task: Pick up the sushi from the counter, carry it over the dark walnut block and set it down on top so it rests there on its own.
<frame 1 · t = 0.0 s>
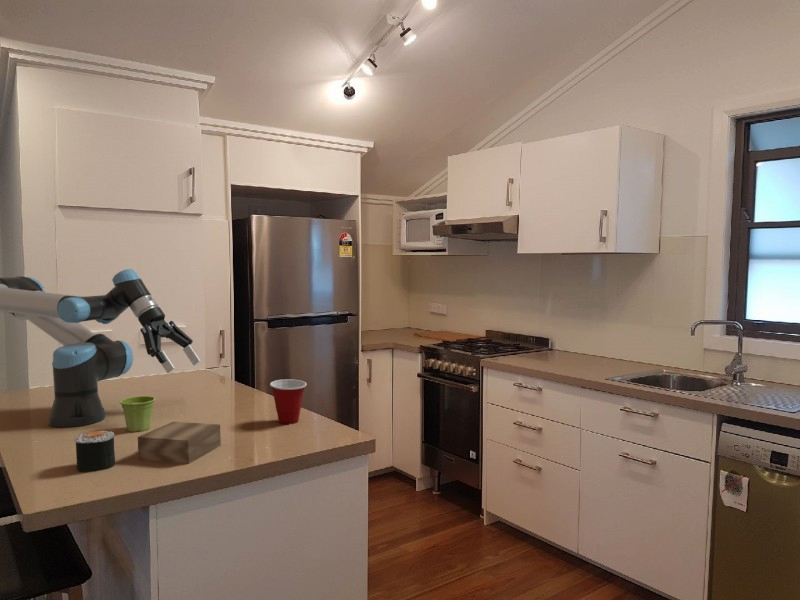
hand: (184, 366, 183), 15 cm above the worktop, tool tilted 35°, fingers open, 13 cm apart
walnut block: (181, 453, 146), on the worktop
plastic cup: (289, 422, 174), on the worktop
sushi: (96, 467, 137), on the worktop
plant pot: (139, 429, 168), on the worktop
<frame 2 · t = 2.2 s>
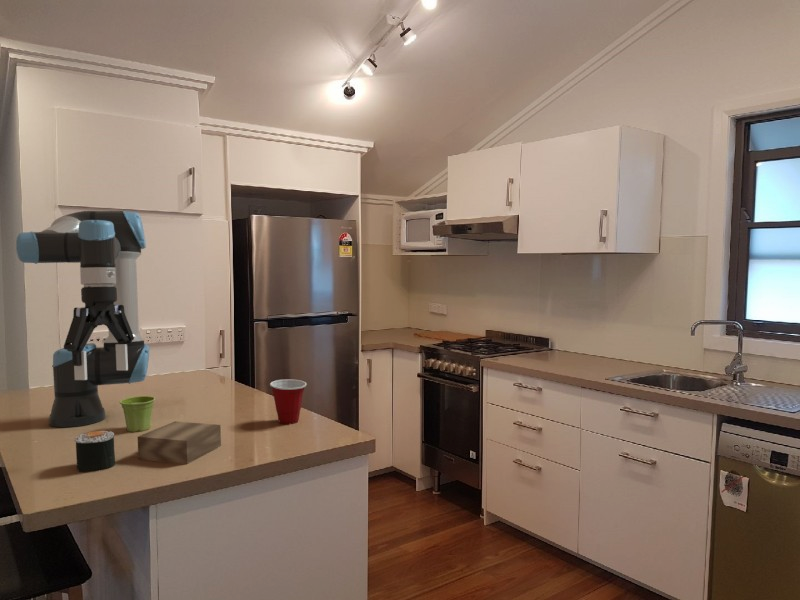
hand: (102, 374, 138), 21 cm above the worktop, tool pointing down, fingers open, 13 cm apart
nothing on the worktop moved.
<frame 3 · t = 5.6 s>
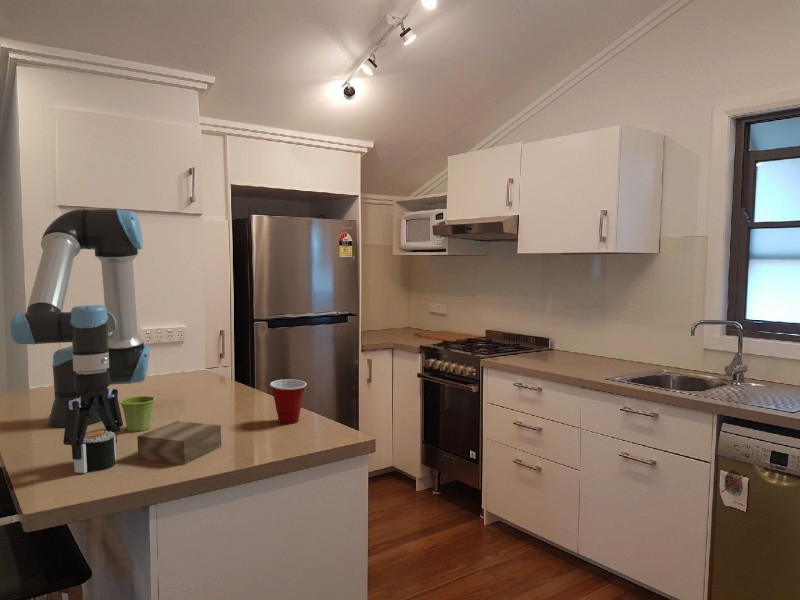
hand: (96, 465, 137), 0 cm above the worktop, tool pointing down, fingers open, 9 cm apart
sushi: (96, 466, 137), on the worktop, touching gripper
everything else where it was.
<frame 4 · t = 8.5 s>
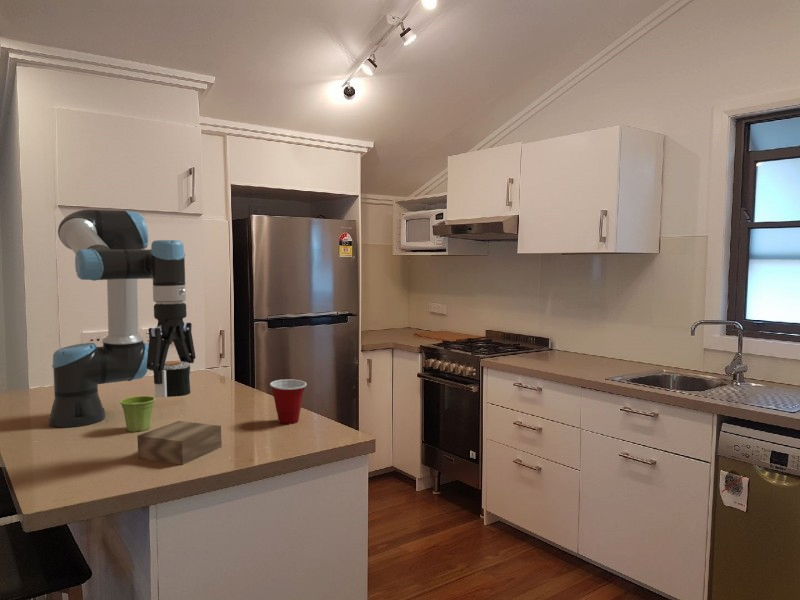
hand: (173, 392, 145), 16 cm above the worktop, tool pointing down, fingers closed on sushi, 9 cm apart
sushi: (173, 394, 145), point 15 cm above the worktop, touching gripper
everything else where it was.
when the fingers open (7 cm above the worktop, at t = 11.0 s): sushi drops 2 cm, resting on walnut block.
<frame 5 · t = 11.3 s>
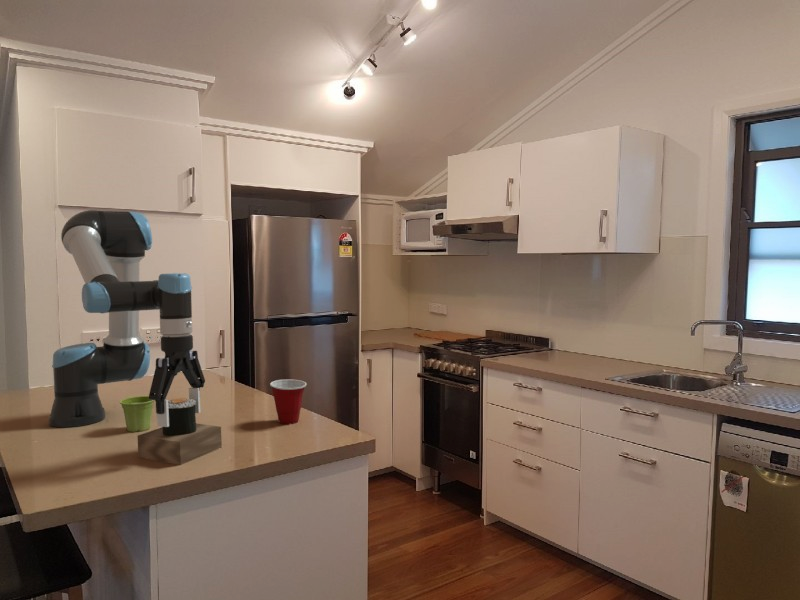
hand: (179, 419, 146), 9 cm above the worktop, tool pointing down, fingers open, 12 cm apart
walnut block: (181, 454, 147), on the worktop, touching sushi
sushi: (179, 431, 146), point 5 cm above the worktop, touching walnut block
everything else where it was.
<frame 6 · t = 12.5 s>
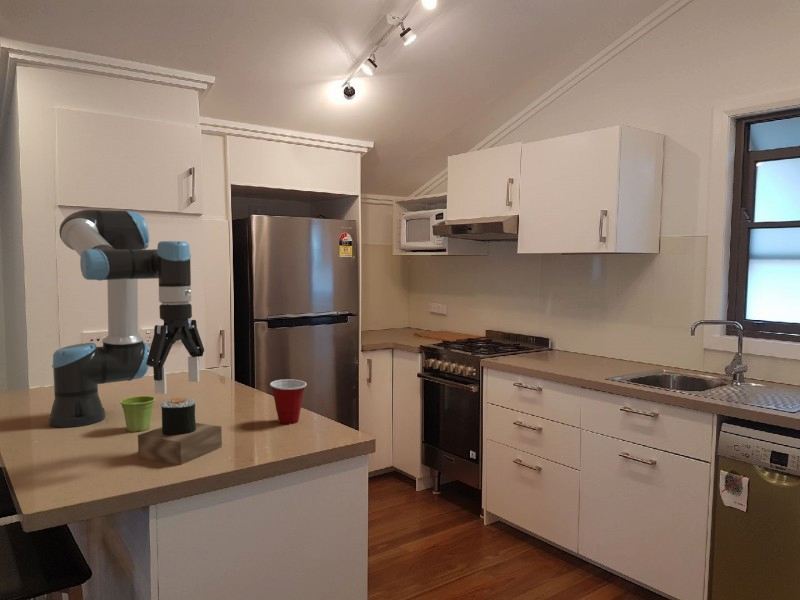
hand: (178, 387, 146), 17 cm above the worktop, tool pointing down, fingers open, 13 cm apart
walnut block: (181, 453, 147), on the worktop
sushi: (178, 431, 146), point 5 cm above the worktop
everything else where it was.
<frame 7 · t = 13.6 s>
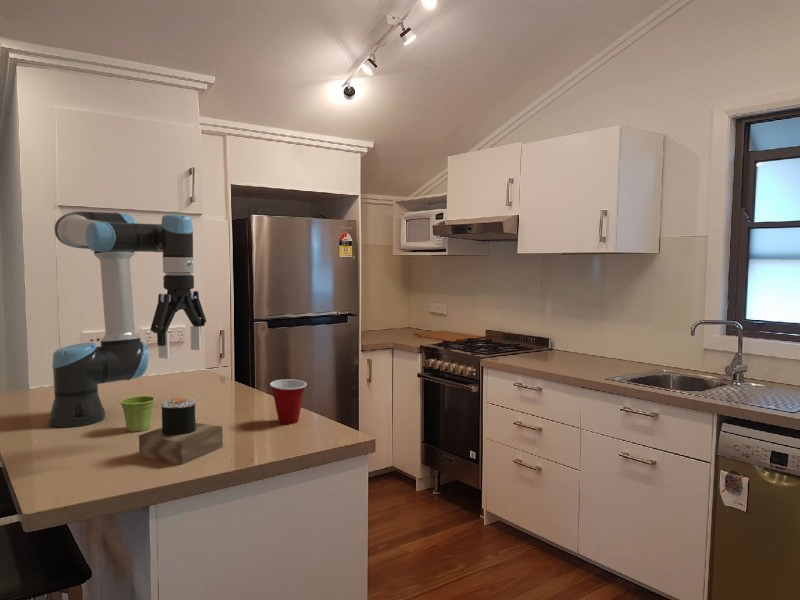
hand: (180, 354, 154), 24 cm above the worktop, tool pointing down, fingers open, 13 cm apart
walnut block: (182, 454, 147), on the worktop, touching sushi
sushi: (178, 431, 146), point 5 cm above the worktop, touching walnut block
everything else where it was.
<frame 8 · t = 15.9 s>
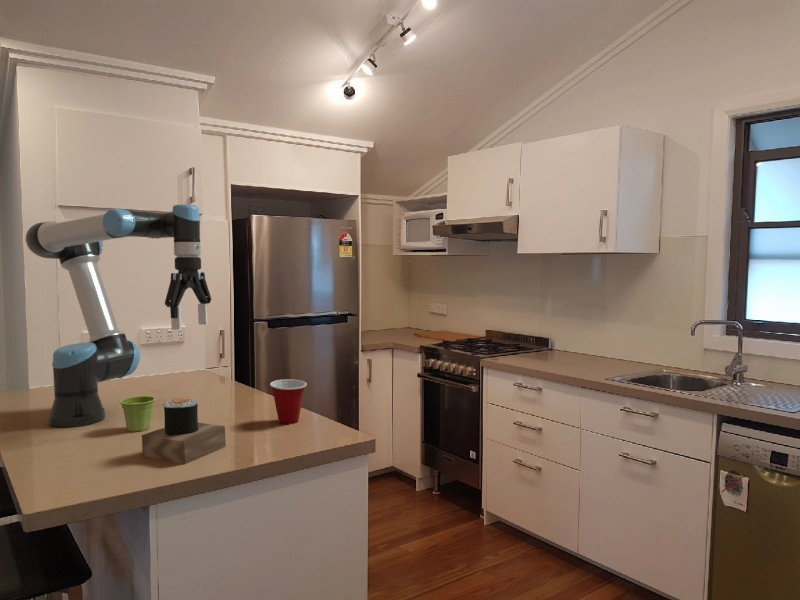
hand: (190, 326, 175), 29 cm above the worktop, tool pointing down, fingers open, 13 cm apart
nothing on the worktop moved.
at the end: sushi inside the target area on the walnut block (0.7 cm from its centre), point 5.8 cm above the walnut block's base; sushi touching nothing; the gripper is holding nothing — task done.
